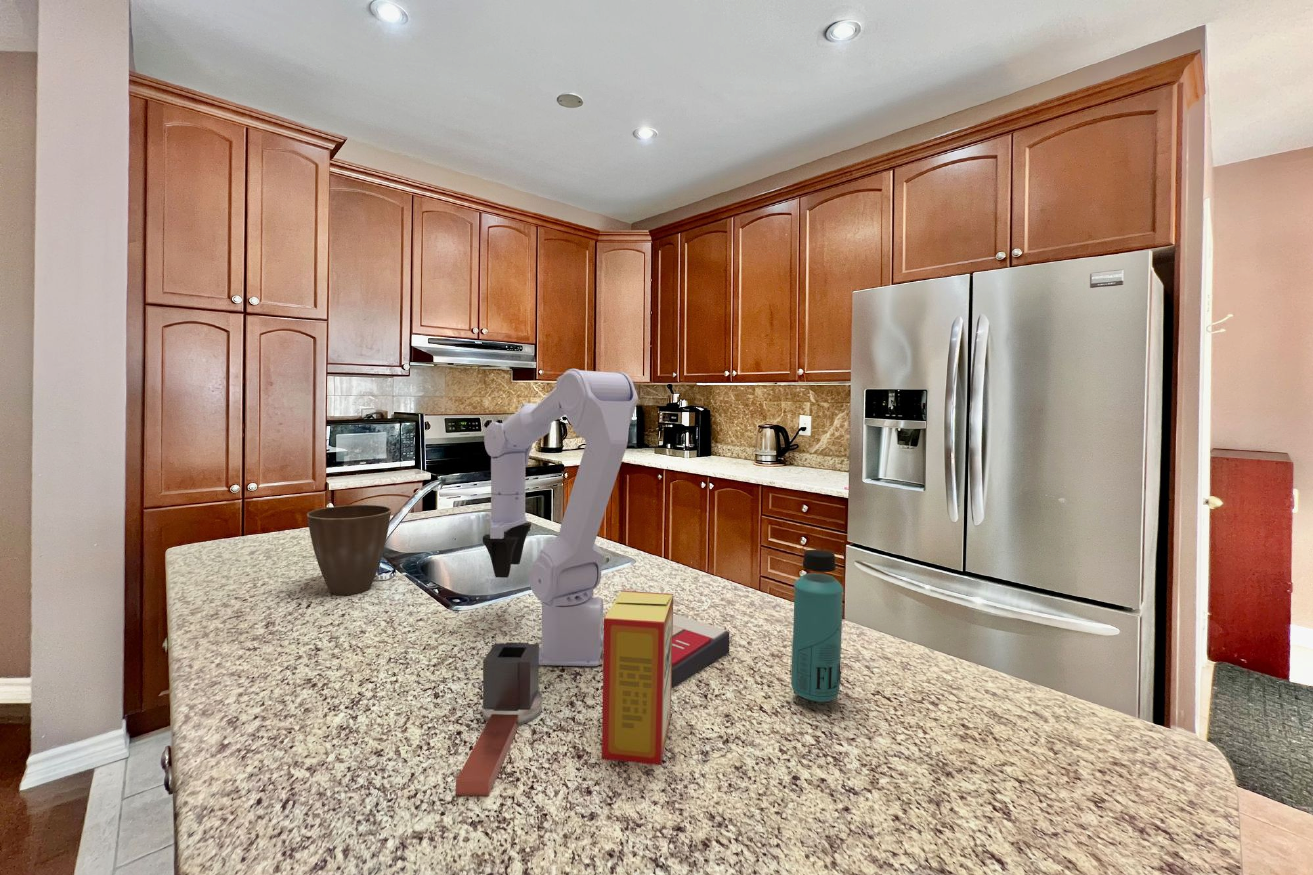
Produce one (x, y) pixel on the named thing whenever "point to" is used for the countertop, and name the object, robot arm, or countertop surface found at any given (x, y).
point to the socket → (511, 676)
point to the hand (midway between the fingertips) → (508, 570)
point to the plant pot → (349, 545)
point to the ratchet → (492, 748)
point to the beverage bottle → (817, 630)
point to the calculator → (695, 647)
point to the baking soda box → (637, 677)
